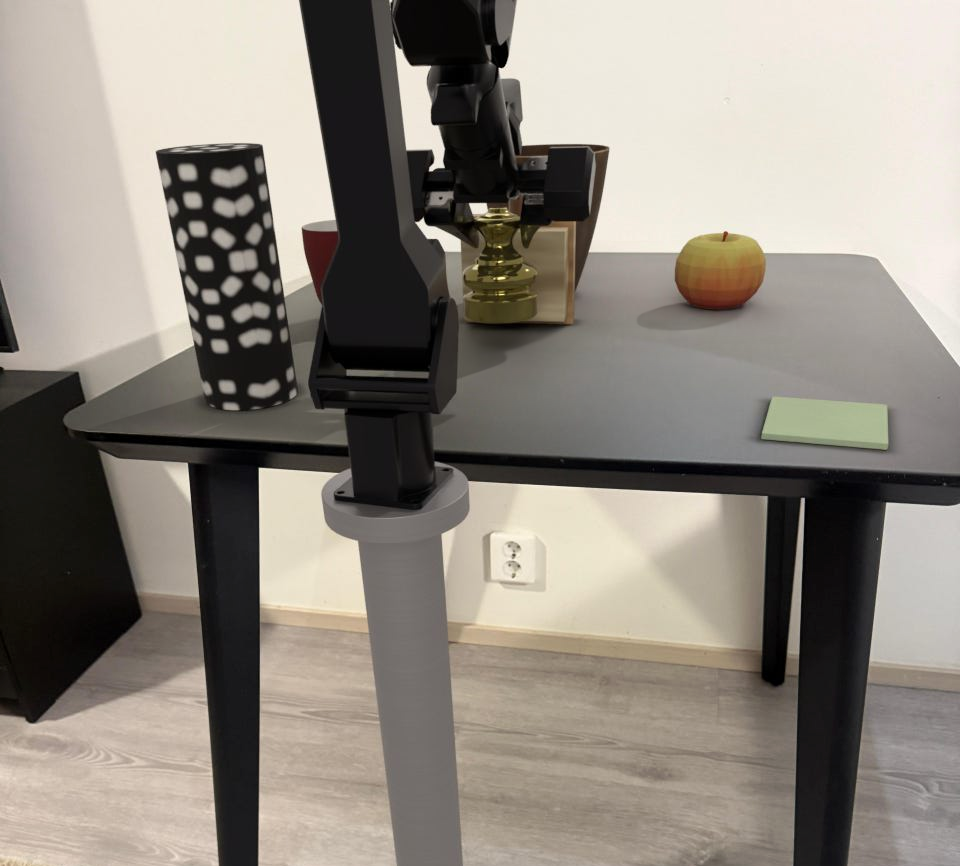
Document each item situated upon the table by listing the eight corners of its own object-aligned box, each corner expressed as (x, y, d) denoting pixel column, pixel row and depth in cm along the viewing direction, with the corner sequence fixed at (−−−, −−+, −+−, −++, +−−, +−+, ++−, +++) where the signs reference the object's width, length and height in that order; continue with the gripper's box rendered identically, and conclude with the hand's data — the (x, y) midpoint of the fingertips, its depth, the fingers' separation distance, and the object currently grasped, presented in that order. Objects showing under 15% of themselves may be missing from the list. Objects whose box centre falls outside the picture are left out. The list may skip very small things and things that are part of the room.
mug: (412, 312, 109) (406, 220, 103) (385, 329, 102) (377, 232, 97) (332, 308, 112) (321, 218, 106) (300, 325, 105) (287, 230, 100)
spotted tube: (188, 408, 82) (134, 154, 71) (231, 379, 88) (188, 144, 78) (274, 412, 80) (233, 152, 69) (311, 383, 87) (279, 142, 76)
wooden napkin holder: (568, 331, 99) (570, 187, 91) (459, 329, 101) (453, 188, 94) (574, 320, 103) (577, 181, 95) (469, 318, 105) (464, 182, 97)
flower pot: (457, 297, 114) (451, 152, 105) (543, 277, 122) (543, 140, 113) (543, 317, 104) (543, 158, 96) (629, 293, 113) (637, 145, 104)
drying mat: (887, 450, 68) (888, 443, 68) (761, 439, 70) (761, 433, 70) (886, 410, 75) (887, 404, 75) (771, 402, 78) (772, 396, 77)
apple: (719, 320, 100) (727, 241, 96) (654, 305, 107) (659, 231, 103) (777, 305, 105) (788, 229, 101) (712, 291, 112) (719, 220, 108)
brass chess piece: (467, 310, 96) (462, 204, 91) (538, 308, 95) (538, 202, 90) (461, 325, 90) (455, 213, 85) (537, 323, 89) (536, 210, 84)
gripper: (597, 35, 75) (605, 172, 90) (379, 45, 79) (422, 175, 94) (582, 152, 73) (593, 272, 88) (359, 156, 77) (406, 271, 92)
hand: (502, 244), depth 90 cm, fingers closed on brass chess piece, 5 cm apart
